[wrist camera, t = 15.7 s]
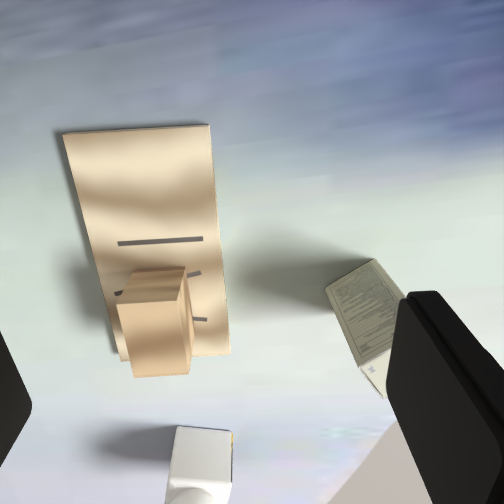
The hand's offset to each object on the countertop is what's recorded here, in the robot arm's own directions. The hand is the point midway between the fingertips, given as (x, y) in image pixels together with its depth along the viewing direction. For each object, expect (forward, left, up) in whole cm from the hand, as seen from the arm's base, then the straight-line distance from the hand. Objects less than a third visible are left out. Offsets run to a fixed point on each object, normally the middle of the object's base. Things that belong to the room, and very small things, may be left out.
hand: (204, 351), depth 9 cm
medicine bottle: (+38, -6, -27) cm, 47 cm away
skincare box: (+15, +13, -27) cm, 33 cm away
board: (+10, -7, -27) cm, 30 cm away
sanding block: (+15, -7, -26) cm, 31 cm away
